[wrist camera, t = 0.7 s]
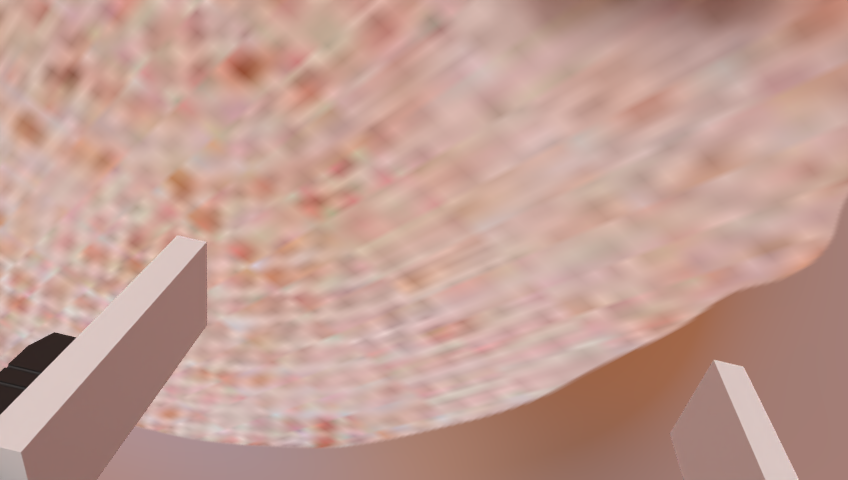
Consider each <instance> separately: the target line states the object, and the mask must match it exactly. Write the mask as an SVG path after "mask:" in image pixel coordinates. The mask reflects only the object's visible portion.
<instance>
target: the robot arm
mask: <svg viewBox="0 0 848 480" xmlns="http://www.w3.org/2000/svg"><path fill="white" fill-rule="evenodd" d="M206 326H207V242H205V241H201V240H196V239H192V238H188V237H183V236H179V235H177V236H176V237H175V238H174V239H173V240H172V241H171V242H170V243H169V244H168V245H167V246H166V247H165V248H164V249H163V250H162V251H161V252H160V253H159V254H158V255H157V257H156V258H155V259H154V260H153V261H152V262H151V263H150V264H149V265H148V266H147V267H146V268H145V269H144V270H143V271H142V272H141V273H140V274H139V275H138V276H137V277H136V278H135V279H134V280H133V281H132V282H131V283H130V284H129V285H128V286H127V287H126V288H125V289H124V290H123V291H122V292H121V293H120V294H119V295H118V296H117V297H116V298H115V299H114V300H113V301H112V302H111V303H110V304H109V305H108V306H107V307H106V308H105V309H104V310H103V311H102V312H101V313H100V314H99V315H98V316H97V317H96V318H95V319H94V320H93V321H92V322H91V323H90V324H89V325H88V326H87V327H86V328H85V329H84V330H83V332H82V333H81V334H80V335H79V336H78V337H77V338H76V337H72V336H67V335H63V334H59V333H55V332H54V333H52V334H50V335H48V336H46V337H44V338H43V339H41V340H39V341H37V342H35V343H33V344H31V345H29V346H27V347H26V348H25V349H24V350H23V351H22V352H21V353H20V354H19V355H18V356H17V357H16V358H15V359H13V360H12V361H11V362H10V363H9V364H8V367H7V368H4V369H3V370H2V371H1V372H0V480H97V479H98V477H99V476H100V474H101V473H102V472H103V470H104V468H105V467H106V466H107V464H108V463H109V462H110V460H111V459H112V457H113V456H114V455H115V453H116V452H117V450H118V449H119V448H120V446H121V445H122V443H123V442H124V441H125V439H126V438H127V436H128V435H129V434H130V432H131V431H132V429H133V428H134V427H135V425H136V424H137V422H138V421H139V420H140V418H141V417H142V415H143V414H144V413H145V411H146V410H147V408H148V407H149V406H150V404H151V403H152V401H153V400H154V399H155V397H156V396H157V394H158V393H159V392H160V390H161V389H162V387H163V386H164V384H165V383H166V382H167V380H168V379H169V377H170V376H171V375H172V373H173V372H174V370H175V369H176V368H177V366H178V365H179V363H180V362H181V361H182V359H183V358H184V356H185V355H186V354H187V352H188V351H189V349H190V348H191V347H192V345H193V344H194V342H195V341H196V340H197V338H198V337H199V335H200V334H201V333H202V331H203V330H204V328H205V327H206ZM670 436H671V439H672V443H673V446H674V449H675V453H676V456H677V460H678V463H679V467H680V470H681V473H682V477H683V480H799V479H798V477H797V475H796V473H795V471H794V469H793V467H792V465H791V463H790V461H789V459H788V457H787V454H786V452H785V450H784V448H783V446H782V444H781V442H780V440H779V438H778V436H777V434H776V432H775V430H774V428H773V426H772V424H771V422H770V420H769V418H768V416H767V414H766V412H765V409H764V408H763V406H762V404H761V401H760V399H759V397H758V395H757V393H756V391H755V389H754V387H753V385H752V383H751V381H750V379H749V377H748V375H747V373H746V371H745V369H744V367H742V366H738V365H733V364H730V363H725V362H721V361H716V360H713V362H712V364H711V365H710V367H709V369H708V370H707V372H706V373H705V375H704V377H703V379H702V380H701V382H700V384H699V385H698V387H697V389H696V390H695V392H694V394H693V395H692V397H691V399H690V400H689V402H688V404H687V405H686V407H685V409H684V410H683V412H682V414H681V415H680V417H679V419H678V420H677V422H676V424H675V426H674V427H673V429H672V431H671V432H670Z"/></svg>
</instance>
